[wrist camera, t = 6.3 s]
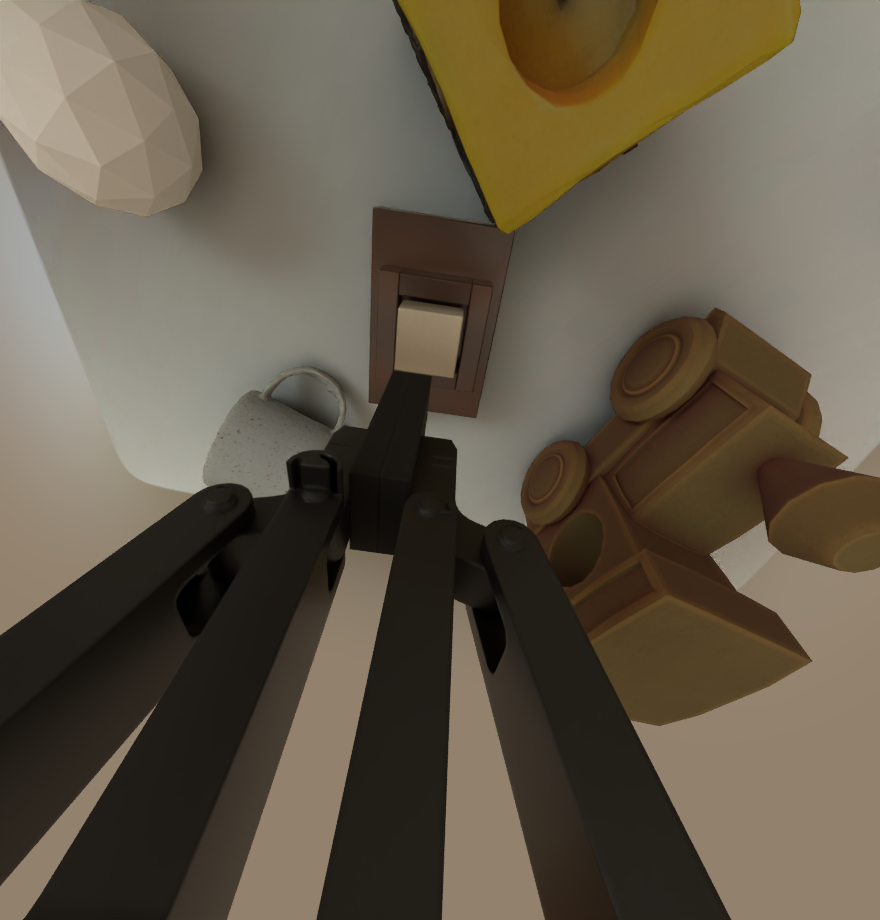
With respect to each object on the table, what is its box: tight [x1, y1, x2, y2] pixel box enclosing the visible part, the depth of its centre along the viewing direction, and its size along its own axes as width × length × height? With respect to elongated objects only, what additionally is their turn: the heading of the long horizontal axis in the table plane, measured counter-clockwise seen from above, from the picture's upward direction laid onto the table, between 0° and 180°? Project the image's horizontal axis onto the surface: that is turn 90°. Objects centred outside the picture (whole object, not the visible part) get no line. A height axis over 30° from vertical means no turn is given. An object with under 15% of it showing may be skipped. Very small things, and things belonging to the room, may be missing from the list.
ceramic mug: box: [203, 367, 346, 498], centre depth 28 cm, size 11×8×8 cm
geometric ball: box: [0, 0, 203, 217], centre depth 18 cm, size 8×8×8 cm
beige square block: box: [394, 300, 464, 378], centre depth 22 cm, size 4×4×2 cm
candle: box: [392, 0, 801, 234], centre depth 14 cm, size 10×10×10 cm
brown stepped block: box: [369, 207, 515, 418], centre depth 24 cm, size 12×8×4 cm, turn 173°
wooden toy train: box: [521, 308, 880, 726], centre depth 23 cm, size 20×11×17 cm, turn 152°
